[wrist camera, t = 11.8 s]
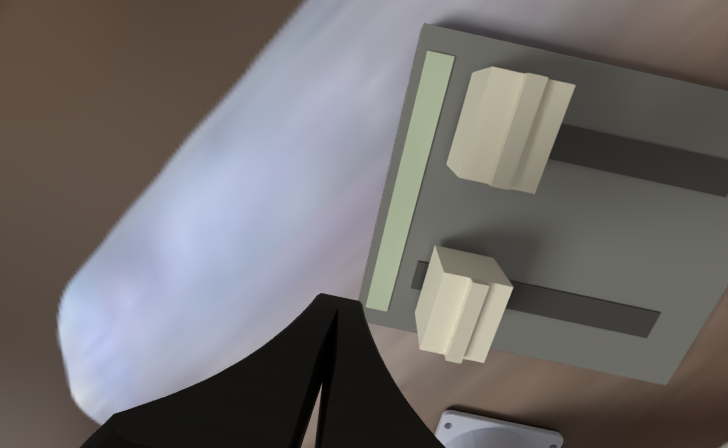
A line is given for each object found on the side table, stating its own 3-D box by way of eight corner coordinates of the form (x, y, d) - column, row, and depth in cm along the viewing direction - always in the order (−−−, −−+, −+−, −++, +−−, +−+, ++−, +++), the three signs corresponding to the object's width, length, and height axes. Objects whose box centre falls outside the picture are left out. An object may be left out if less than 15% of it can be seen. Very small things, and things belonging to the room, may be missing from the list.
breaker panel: (648, 367, 22) (668, 388, 20) (357, 305, 22) (354, 321, 20) (795, 113, 17) (838, 114, 15) (420, 29, 17) (424, 22, 15)
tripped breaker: (509, 178, 17) (538, 196, 14) (446, 164, 17) (460, 180, 14) (540, 87, 15) (581, 84, 12) (472, 72, 15) (495, 65, 12)
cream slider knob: (469, 324, 19) (486, 368, 16) (414, 312, 19) (420, 355, 16) (493, 257, 18) (516, 291, 15) (434, 245, 18) (445, 276, 15)
